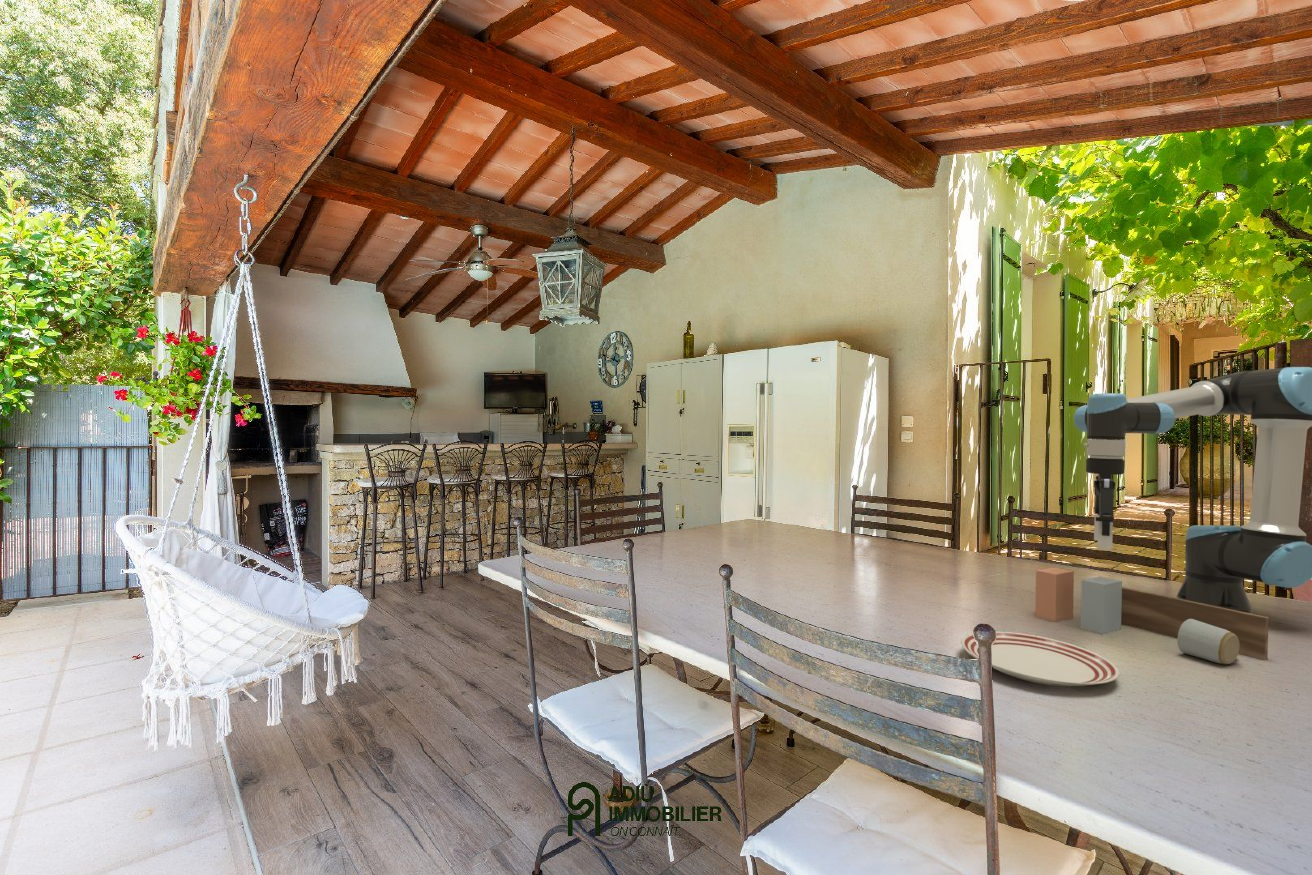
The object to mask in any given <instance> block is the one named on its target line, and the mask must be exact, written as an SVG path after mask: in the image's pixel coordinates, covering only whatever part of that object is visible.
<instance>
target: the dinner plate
mask: <svg viewBox="0 0 1312 875" xmlns="http://www.w3.org/2000/svg"><path fill="white" fill-rule="evenodd" d="M973 633H974V632H972V633H969V634H967V635H965V636H963V637H962V639H961V640H960V644H961V647H962V648H963V650H964V651H965V652H966V653H968V654H969V655H970V656H971V657H973V658H974V659H976V660H977V659H978V658H979V647H978V646H977V644H976V642H975V639H974V637H973ZM996 634H997V637H996V642H994V644H993V645H992V667H993V668H992V667H991V668H992V669H994V670H996V671H997V672H1000V673H1002V674H1004V675H1007V676H1010V677H1012V678H1016V679H1018V680H1022V681H1027V682H1031V683H1034V684H1038V685H1045V686H1046V685H1047V686H1053V687H1076V686H1077V687H1079V686H1080V687H1082V686H1093V685H1100V684H1106V683H1111V682H1113V681H1116V680H1117V679H1118V678H1119V677H1120V670H1119V668H1118V667H1117V666H1116V665H1115V663H1113V662H1112V661H1111V660H1109V659H1107V658H1105V657H1103V656H1101V655H1100V654H1098V653H1096V652H1094V651H1091V650H1089V649H1087V648H1083V647H1081V646H1078V645H1076V644H1073V643H1068V642H1065V641H1061V640H1058V639H1054V638H1049V637H1046V636H1040V635H1039V636H1038V635H1034V634H1029V633H1021V632H1011V631H997V630H996Z"/></svg>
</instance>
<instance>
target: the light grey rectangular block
mask: <svg viewBox="0 0 1312 875" xmlns="http://www.w3.org/2000/svg"><path fill="white" fill-rule="evenodd" d="M1122 587H1123V581H1122V580H1119V579H1114V578H1108V577H1103V576H1100V575H1099V576H1094V577H1090V578H1084V579H1081V593H1080V594H1081V596H1080V598H1081V600H1080V629H1081V630H1084V631H1089V632H1092V633H1096V634H1100V635H1102V636H1104V635H1107V634H1110V633H1114V632H1117V631H1121V630H1122V624H1121V606H1122Z"/></svg>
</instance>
